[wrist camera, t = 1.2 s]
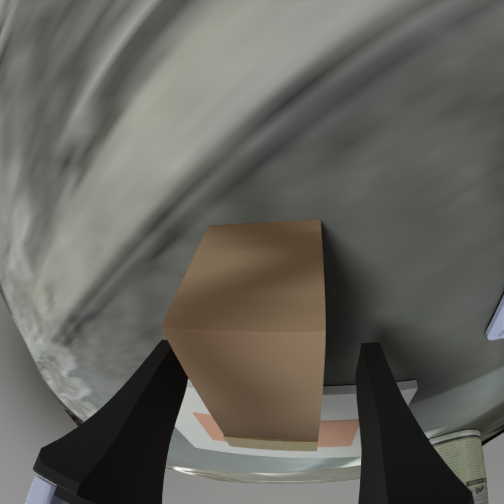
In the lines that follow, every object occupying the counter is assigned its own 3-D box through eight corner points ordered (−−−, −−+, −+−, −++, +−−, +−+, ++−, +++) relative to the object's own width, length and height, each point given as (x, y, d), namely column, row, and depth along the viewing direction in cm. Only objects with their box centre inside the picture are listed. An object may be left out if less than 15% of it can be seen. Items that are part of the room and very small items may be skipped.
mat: (416, 380, 15) (418, 389, 15) (375, 449, 23) (375, 455, 23) (138, 372, 19) (135, 380, 19) (196, 442, 27) (194, 448, 27)
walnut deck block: (320, 217, 11) (326, 334, 7) (320, 365, 16) (316, 453, 12) (210, 223, 11) (159, 330, 7) (248, 364, 16) (231, 448, 12)
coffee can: (463, 450, 25) (468, 546, 14) (388, 466, 28) (384, 566, 16) (495, 419, 19) (507, 541, 8) (403, 441, 22) (401, 575, 11)
